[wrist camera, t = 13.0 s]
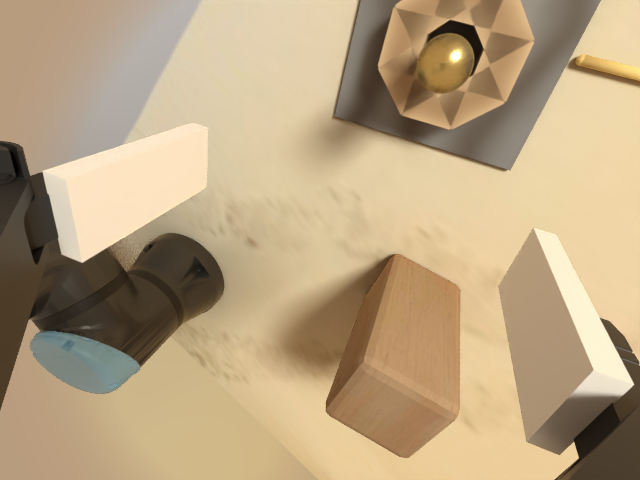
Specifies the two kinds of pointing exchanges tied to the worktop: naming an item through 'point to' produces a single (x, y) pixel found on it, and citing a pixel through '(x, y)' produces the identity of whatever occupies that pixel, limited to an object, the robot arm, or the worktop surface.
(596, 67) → the yellow rod
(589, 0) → the wooden ring socket base
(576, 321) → the robot arm
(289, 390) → the worktop surface
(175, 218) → the worktop surface
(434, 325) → the wooden block
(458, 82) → the brass-banded steel rod
